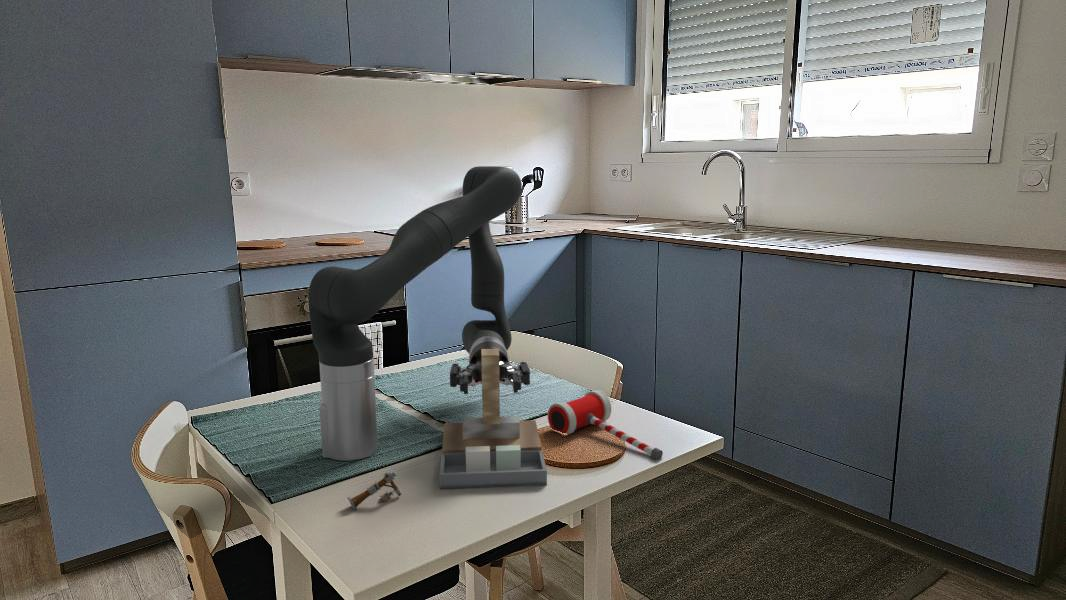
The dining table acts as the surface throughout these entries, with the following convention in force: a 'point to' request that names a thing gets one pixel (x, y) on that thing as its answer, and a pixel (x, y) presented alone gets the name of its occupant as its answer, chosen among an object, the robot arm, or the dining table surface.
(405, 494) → the dining table surface
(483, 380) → the scraper
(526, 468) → the tray
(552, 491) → the dining table surface
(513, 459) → the tile
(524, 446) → the board
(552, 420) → the toy hammer
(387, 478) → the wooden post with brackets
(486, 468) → the tile
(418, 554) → the dining table surface
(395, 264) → the robot arm
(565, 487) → the dining table surface
